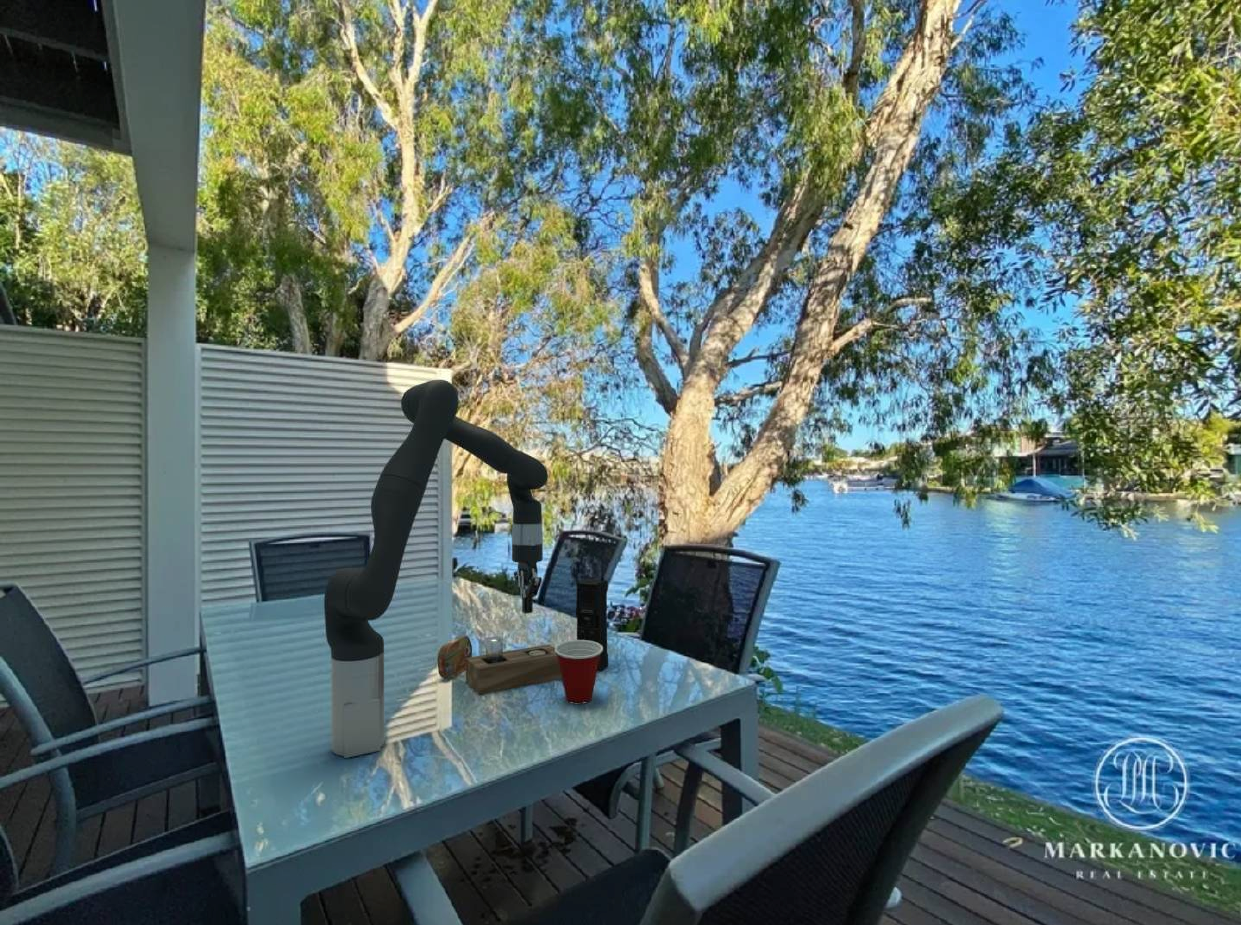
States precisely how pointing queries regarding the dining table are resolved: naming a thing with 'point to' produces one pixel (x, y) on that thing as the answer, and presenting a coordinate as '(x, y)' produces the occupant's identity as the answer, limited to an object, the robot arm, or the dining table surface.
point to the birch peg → (536, 652)
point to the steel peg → (494, 649)
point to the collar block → (513, 670)
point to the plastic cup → (578, 668)
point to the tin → (454, 657)
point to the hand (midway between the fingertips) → (527, 612)
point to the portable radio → (593, 614)
